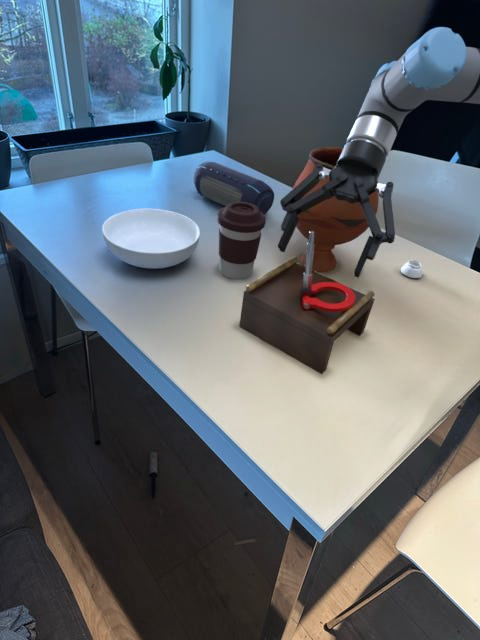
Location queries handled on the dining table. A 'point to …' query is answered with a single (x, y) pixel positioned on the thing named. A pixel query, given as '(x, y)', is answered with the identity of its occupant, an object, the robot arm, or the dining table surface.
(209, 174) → the portable speaker
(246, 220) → the coffee cup
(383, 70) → the robot arm
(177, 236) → the serving bowl
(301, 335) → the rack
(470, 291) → the dining table surface
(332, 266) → the goblet
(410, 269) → the white jar
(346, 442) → the dining table surface
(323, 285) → the tow hook
